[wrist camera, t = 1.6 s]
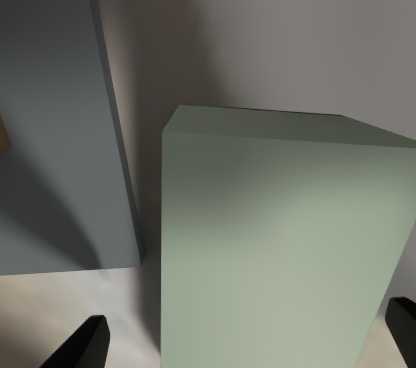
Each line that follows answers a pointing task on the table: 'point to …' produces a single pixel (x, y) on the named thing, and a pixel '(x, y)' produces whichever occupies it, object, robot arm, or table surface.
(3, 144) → the pier
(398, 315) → the robot arm
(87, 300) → the table surface
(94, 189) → the board
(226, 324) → the lintel
